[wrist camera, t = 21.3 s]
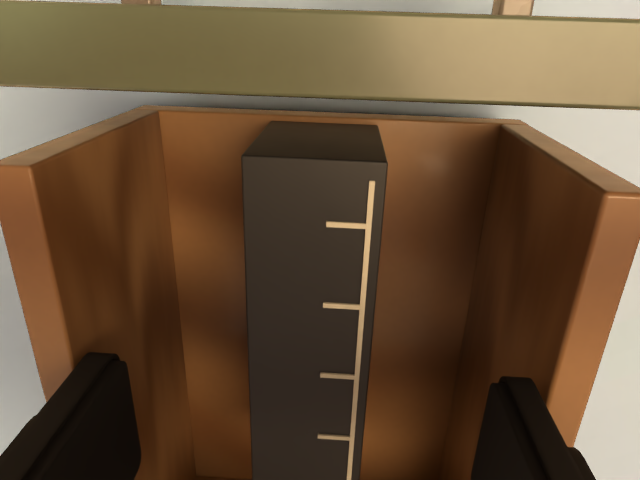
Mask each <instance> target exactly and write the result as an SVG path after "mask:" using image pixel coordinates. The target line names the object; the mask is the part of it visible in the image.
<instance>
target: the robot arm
mask: <svg viewBox="0 0 640 480" xmlns="http://www.w3.org/2000/svg"><path fill="white" fill-rule="evenodd" d="M141 455H142V454H141V446H140V440H139V434H138V428H137V422H136V416H135V409H134V403H133V397H132V391H131V385H130V379H129V373H128V367H127V363H126V362H125V361H120V358H119V356H118V355H117V354H115V353H98V352H89V353H87V354H86V355H85V356H84V357H83V358H82V359H81V361H80V362H79V363H78V364H77V366H76V367H75V368H74V369H73V371H72V372H71V373H70V374H69V375H68V377H67V378H66V379H65V380H64V382H63V383H62V384H61V385H60V387H59V388H58V389H57V390H56V392H55V393H54V394H53V395H52V397H51V398H50V399H49V400H48V402H47V403H46V404H45V405H44V407H43V408H42V409H41V410H40V412H39V413H38V414H37V415H36V416H34V417H33V418H32V419H31V420H30V421H29V422H28V423H27V424H26V425H25V426H24V428H23V429H22V430H21V431H20V433H19V434H18V435H17V436H16V437H15V439H14V440H13V441H12V442H11V444H10V445H9V446H8V447H7V449H6V450H5V451H4V452H3V454H2V455H1V456H0V480H134V479H135V476H136V474H137V472H138V470H139V467H140V463H141ZM471 480H596V479H595V477H594V475H593V473H592V472H591V470H590V468H589V466H588V464H587V462H586V461H585V459H584V457H583V456H582V454H581V453H580V451H578V450H577V449H576V448H574V447H567V445H566V443H565V441H564V439H563V437H562V435H561V434H560V432H559V430H558V428H557V426H556V424H555V422H554V420H553V418H552V416H551V414H550V412H549V410H548V408H547V407H546V405H545V403H544V401H543V399H542V397H541V395H540V393H539V391H538V389H537V387H536V385H535V383H534V382H533V380H532V379H531V378H528V377H511V376H502V377H501V378H500V379H499V382H498V383H491V385H490V387H489V392H488V397H487V401H486V406H485V411H484V415H483V420H482V425H481V429H480V434H479V439H478V443H477V448H476V453H475V457H474V462H473V467H472V471H471Z"/></svg>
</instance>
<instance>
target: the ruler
mask: <svg viewBox="0 0 640 480" xmlns="http://www.w3.org/2000/svg"><path fill="white" fill-rule="evenodd" d="M241 169H242V198H243V227H244V256H245V285H246V315H247V344H248V373H249V402H250V431H251V461H252V480H360V470H361V459H362V447H363V436H364V425H365V414H366V403H367V392H368V381H369V370H370V359H371V348H372V337H373V326H374V315H375V304H376V293H377V282H378V271H379V259H380V248H381V237H382V226H383V215H384V204H385V193H386V182H387V171H388V161H387V158H386V154H385V150H384V146H383V142H382V139H381V135H380V131H379V127H378V126H377V125H361V124H338V123H315V122H292V121H270V123H269V124H268V125H267V126H266V127H265V129H264V130H263V131H262V132H261V133H260V134H259V136H258V137H257V138H256V139H255V140H254V141H253V143H252V144H251V145H250V146H249V147H248V148H247V150H246V151H245V152H244V153H243V154H242V156H241Z"/></svg>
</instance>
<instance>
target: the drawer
mask: <svg viewBox="0 0 640 480" xmlns="http://www.w3.org/2000/svg"><path fill="white" fill-rule="evenodd" d="M121 3H122V4H117V3H83V2H50V1H16V0H0V86H7V87H34V88H60V89H87V90H114V91H140V92H167V93H193V94H220V95H247V96H273V97H300V98H326V99H353V100H380V101H406V102H433V103H459V104H486V105H513V106H539V107H566V108H592V109H619V110H640V19H622V18H588V17H555V16H531V15H532V10H533V4H534V0H494V2H493V9H492V15H487V14H454V13H420V12H386V11H353V10H319V9H285V8H252V7H218V6H184V5H161V0H121ZM270 121H292V122H315V123H338V124H361V125H377V126H378V127H379V131H380V135H381V139H382V142H383V146H384V150H385V154H386V158H387V161H388V171H387V182H386V193H385V204H384V215H383V226H382V237H381V248H380V259H379V271H378V282H377V293H376V304H375V315H374V326H373V337H372V348H371V359H370V370H369V381H368V392H367V403H366V414H365V425H364V436H363V447H362V459H361V470H360V480H471V471H472V467H473V462H474V457H475V453H476V448H477V443H478V439H479V434H480V429H481V425H482V420H483V415H484V411H485V406H486V401H487V397H488V392H489V387H490V385H491V383H498V382H499V379H500V378H501V377H502V376H511V377H528V378H531V379H532V380H533V382H534V383H535V385H536V387H537V389H538V391H539V393H540V395H541V397H542V399H543V401H544V403H545V405H546V407H547V408H548V410H549V412H550V414H551V416H552V418H553V420H554V422H555V424H556V426H557V428H558V430H559V432H560V434H561V435H562V437H563V439H564V441H565V443H566V445H567V447H573V445H574V442H575V439H576V436H577V433H578V430H579V427H580V424H581V421H582V417H583V414H584V411H585V408H586V405H587V402H588V399H589V396H590V392H591V389H592V386H593V383H594V380H595V377H596V374H597V371H598V368H599V364H600V361H601V358H602V355H603V352H604V349H605V346H606V343H607V340H608V336H609V333H610V330H611V327H612V324H613V321H614V318H615V315H616V311H617V308H618V305H619V302H620V299H621V296H622V293H623V290H624V287H625V283H626V280H627V277H628V274H629V271H630V268H631V265H632V262H633V259H634V255H635V252H636V249H637V246H638V243H639V240H640V188H639V187H637V186H635V185H634V184H632V183H630V182H628V181H627V180H625V179H623V178H621V177H619V176H618V175H616V174H614V173H612V172H611V171H609V170H607V169H605V168H603V167H602V166H600V165H598V164H596V163H595V162H593V161H591V160H589V159H587V158H586V157H584V156H582V155H580V154H579V153H577V152H575V151H573V150H571V149H570V148H568V147H566V146H564V145H563V144H561V143H559V142H557V141H555V140H554V139H552V138H550V137H548V136H547V135H545V134H543V133H541V132H539V131H538V130H536V129H534V128H532V127H531V126H529V125H528V124H526V123H524V122H522V121H521V120H515V119H489V118H463V117H437V116H412V115H386V114H360V113H334V112H309V111H283V110H257V109H231V108H205V107H180V106H154V105H143V106H140V107H138V108H135V109H133V110H130V111H127V112H125V113H122V114H119V115H117V116H114V117H112V118H109V119H106V120H104V121H101V122H98V123H96V124H93V125H91V126H88V127H85V128H83V129H80V130H77V131H75V132H72V133H70V134H67V135H64V136H62V137H59V138H56V139H54V140H51V141H49V142H46V143H43V144H41V145H38V146H35V147H33V148H30V149H28V150H25V151H22V152H20V153H17V154H14V155H12V156H9V157H7V158H4V159H1V160H0V223H1V227H2V231H3V234H4V238H5V242H6V246H7V250H8V254H9V258H10V262H11V266H12V270H13V274H14V278H15V282H16V285H17V289H18V293H19V297H20V301H21V305H22V309H23V313H24V317H25V321H26V325H27V329H28V333H29V337H30V340H31V344H32V348H33V352H34V356H35V360H36V364H37V368H38V372H39V376H40V380H41V384H42V388H43V391H44V395H45V399H46V403H47V402H48V400H49V399H50V398H51V397H52V395H53V394H54V393H55V392H56V390H57V389H58V388H59V387H60V385H61V384H62V383H63V382H64V380H65V379H66V378H67V377H68V375H69V374H70V373H71V372H72V371H73V369H74V368H75V367H76V366H77V364H78V363H79V362H80V361H81V359H82V358H83V357H84V356H85V355H86V354H87V353H89V352H98V353H115V354H117V355H118V356H119V358H120V361H125V362H126V363H127V367H128V373H129V379H130V385H131V391H132V397H133V403H134V409H135V416H136V422H137V428H138V434H139V440H140V446H141V454H142V455H141V463H140V467H139V470H138V472H137V474H136V476H135V479H134V480H252V461H251V431H250V402H249V373H248V344H247V315H246V285H245V256H244V227H243V198H242V169H241V156H242V154H243V153H244V152H245V151H246V150H247V148H248V147H249V146H250V145H251V144H252V143H253V141H254V140H255V139H256V138H257V137H258V136H259V134H260V133H261V132H262V131H263V130H264V129H265V127H266V126H267V125H268V124H269V123H270Z"/></svg>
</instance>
